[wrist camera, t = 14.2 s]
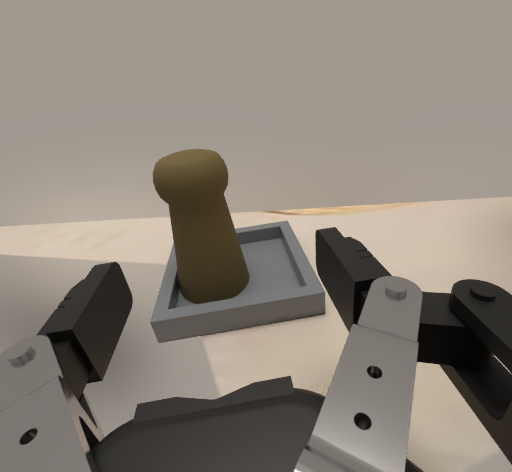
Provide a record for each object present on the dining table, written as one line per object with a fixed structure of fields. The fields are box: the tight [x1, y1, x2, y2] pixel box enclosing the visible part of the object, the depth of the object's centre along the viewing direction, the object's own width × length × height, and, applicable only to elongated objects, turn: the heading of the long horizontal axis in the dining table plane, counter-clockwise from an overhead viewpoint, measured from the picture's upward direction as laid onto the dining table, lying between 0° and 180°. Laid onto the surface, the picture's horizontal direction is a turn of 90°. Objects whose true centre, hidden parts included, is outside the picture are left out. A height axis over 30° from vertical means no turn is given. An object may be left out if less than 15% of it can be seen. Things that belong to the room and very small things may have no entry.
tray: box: [150, 221, 325, 343], centre depth 25 cm, size 12×12×2 cm
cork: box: [153, 149, 250, 304], centre depth 22 cm, size 6×6×11 cm
